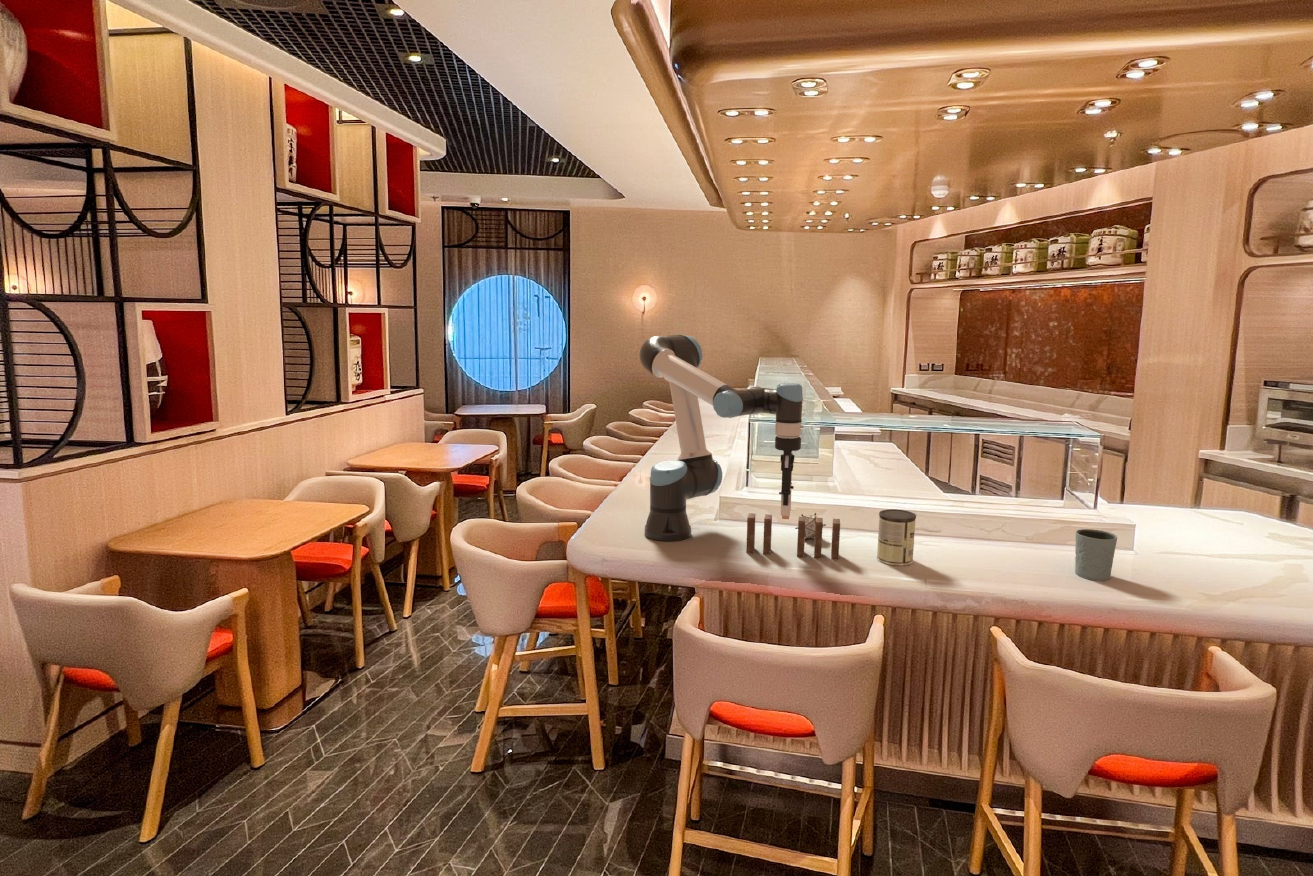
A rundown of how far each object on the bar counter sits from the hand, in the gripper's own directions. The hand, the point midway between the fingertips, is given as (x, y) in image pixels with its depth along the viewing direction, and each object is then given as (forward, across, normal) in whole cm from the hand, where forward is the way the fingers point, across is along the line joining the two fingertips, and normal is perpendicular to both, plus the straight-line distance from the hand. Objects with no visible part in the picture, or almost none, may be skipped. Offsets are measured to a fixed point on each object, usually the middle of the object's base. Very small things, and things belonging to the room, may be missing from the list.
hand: (785, 512), depth 227 cm
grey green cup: (+13, +1, -85) cm, 86 cm away
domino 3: (+1, 0, 0) cm, 1 cm away
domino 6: (+13, 0, -15) cm, 19 cm away
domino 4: (+13, 0, -5) cm, 13 cm away
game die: (+13, +17, -7) cm, 22 cm away
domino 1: (+13, 0, +10) cm, 16 cm away
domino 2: (+13, 0, +5) cm, 14 cm away
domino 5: (+13, 0, -10) cm, 16 cm away
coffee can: (+13, +1, -32) cm, 35 cm away
